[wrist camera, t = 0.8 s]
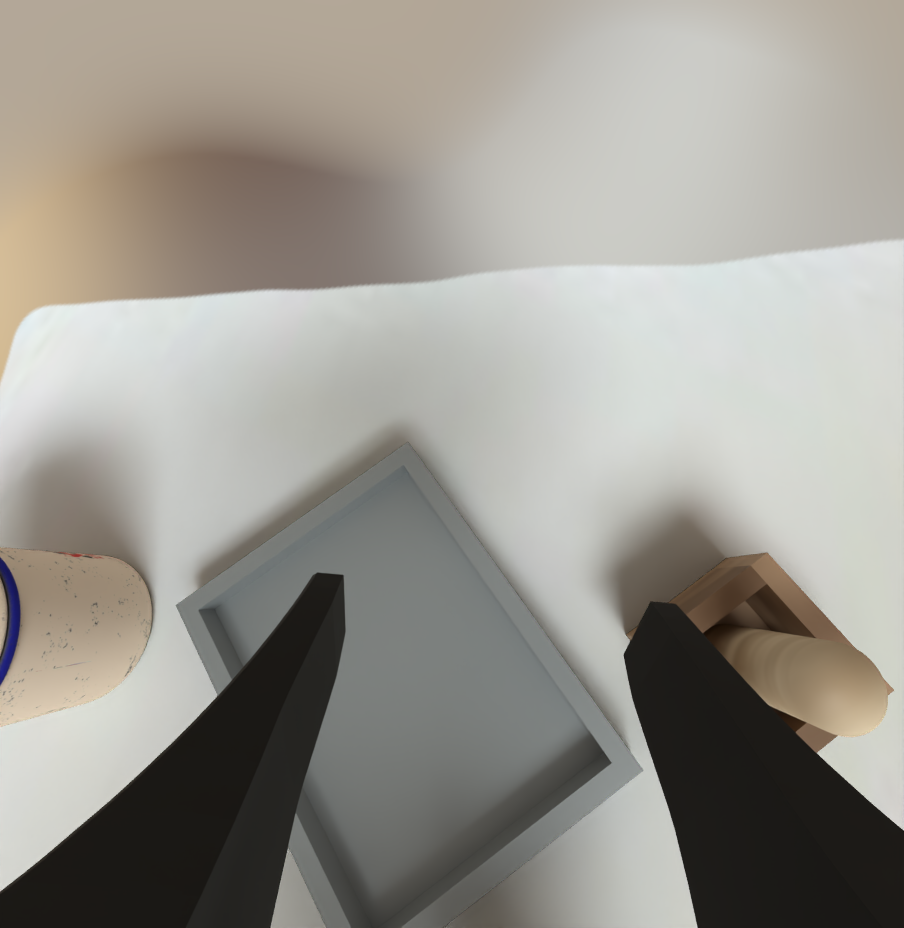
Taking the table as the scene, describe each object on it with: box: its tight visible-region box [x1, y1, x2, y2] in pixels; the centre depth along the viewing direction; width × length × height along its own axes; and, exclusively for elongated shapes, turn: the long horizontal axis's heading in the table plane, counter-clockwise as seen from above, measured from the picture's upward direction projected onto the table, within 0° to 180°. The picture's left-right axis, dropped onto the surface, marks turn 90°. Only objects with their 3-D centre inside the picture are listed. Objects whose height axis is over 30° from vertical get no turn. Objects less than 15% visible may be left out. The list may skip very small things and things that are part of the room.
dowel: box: [703, 624, 888, 737], centre depth 19 cm, size 3×3×8 cm
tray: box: [176, 442, 643, 928], centre depth 24 cm, size 20×16×2 cm
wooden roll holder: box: [626, 553, 894, 753], centre depth 22 cm, size 7×7×4 cm
